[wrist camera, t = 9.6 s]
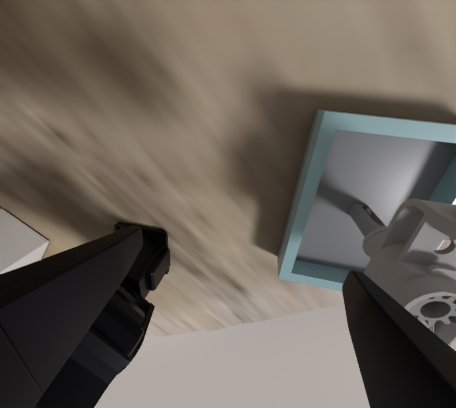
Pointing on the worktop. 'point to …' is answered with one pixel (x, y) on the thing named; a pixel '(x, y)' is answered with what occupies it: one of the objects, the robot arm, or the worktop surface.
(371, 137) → the tray
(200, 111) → the worktop surface
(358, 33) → the worktop surface
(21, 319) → the robot arm
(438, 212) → the mechanical component
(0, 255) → the milk carton
